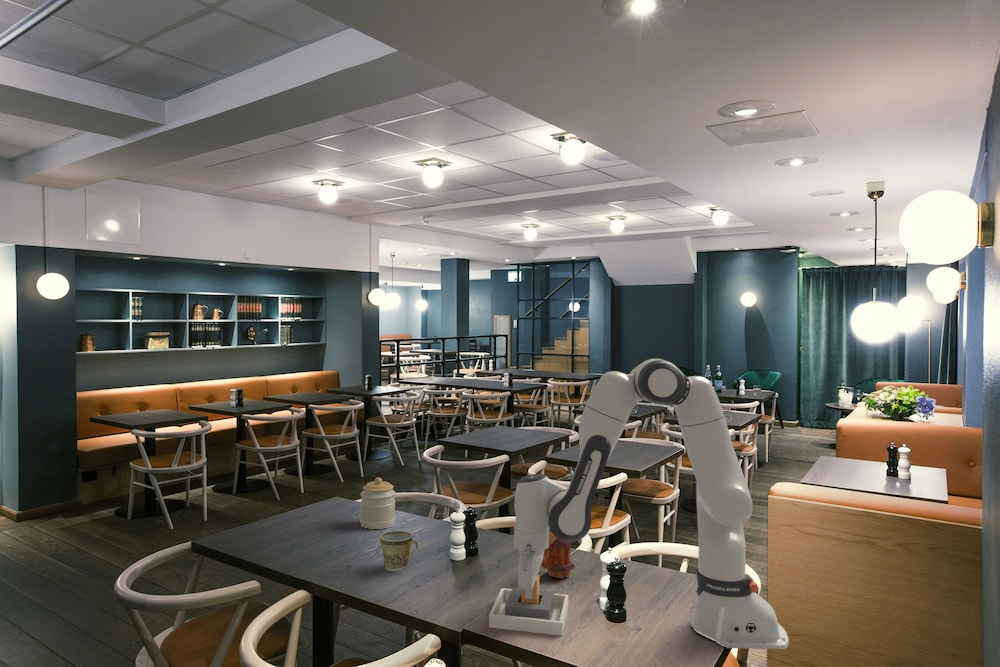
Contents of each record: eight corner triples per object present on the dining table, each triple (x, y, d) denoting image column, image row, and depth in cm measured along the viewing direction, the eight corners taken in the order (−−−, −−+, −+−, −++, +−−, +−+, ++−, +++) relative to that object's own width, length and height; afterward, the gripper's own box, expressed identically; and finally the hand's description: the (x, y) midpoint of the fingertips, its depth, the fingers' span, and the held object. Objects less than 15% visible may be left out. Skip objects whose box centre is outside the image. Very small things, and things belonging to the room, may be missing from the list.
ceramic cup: (372, 570, 188) (373, 537, 188) (392, 559, 197) (393, 528, 197) (407, 578, 182) (407, 544, 182) (426, 567, 191) (427, 535, 191)
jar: (384, 517, 240) (385, 472, 240) (401, 525, 230) (402, 478, 230) (353, 523, 232) (354, 476, 232) (370, 532, 222) (370, 483, 222)
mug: (556, 567, 192) (557, 519, 192) (578, 574, 187) (579, 525, 187) (528, 581, 181) (529, 530, 181) (551, 589, 176) (552, 537, 176)
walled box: (568, 609, 163) (568, 594, 163) (562, 639, 148) (562, 623, 148) (501, 602, 167) (501, 588, 167) (488, 631, 151) (489, 614, 151)
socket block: (554, 608, 162) (554, 591, 161) (549, 628, 151) (549, 610, 151) (512, 604, 164) (512, 587, 164) (504, 623, 153) (505, 605, 153)
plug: (539, 605, 159) (539, 574, 159) (536, 612, 155) (537, 581, 155) (523, 604, 160) (524, 573, 159) (521, 611, 156) (521, 579, 156)
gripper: (538, 554, 146) (537, 612, 146) (548, 527, 166) (547, 578, 166) (511, 552, 147) (511, 609, 148) (525, 525, 168) (524, 576, 168)
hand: (530, 593), depth 157 cm, fingers closed on plug, 4 cm apart
